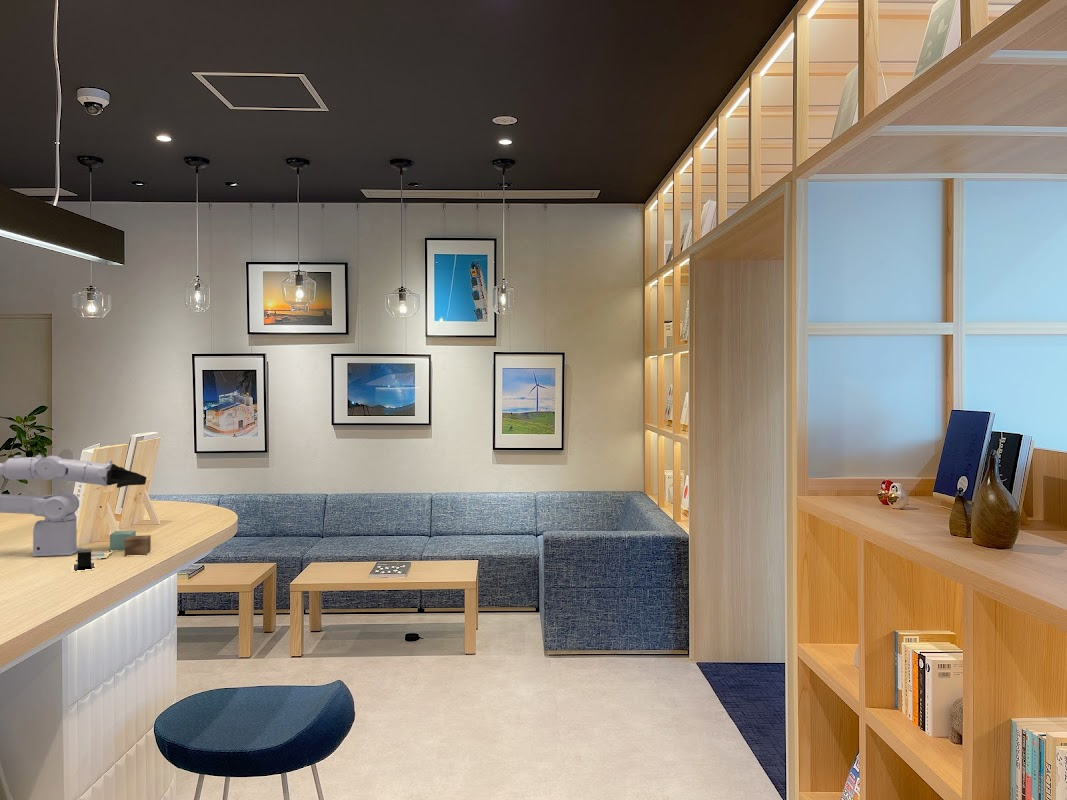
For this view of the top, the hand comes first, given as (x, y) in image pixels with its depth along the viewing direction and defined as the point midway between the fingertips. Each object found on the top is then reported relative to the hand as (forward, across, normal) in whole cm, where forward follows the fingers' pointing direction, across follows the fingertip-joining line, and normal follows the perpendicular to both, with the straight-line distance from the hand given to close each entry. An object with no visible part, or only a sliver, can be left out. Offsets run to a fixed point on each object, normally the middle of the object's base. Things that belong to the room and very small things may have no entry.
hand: (142, 479), depth 211 cm
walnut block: (+3, -1, +20) cm, 20 cm away
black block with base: (-6, -14, +24) cm, 29 cm away
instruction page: (-7, -1, +21) cm, 22 cm away
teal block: (-3, +7, +19) cm, 20 cm away
